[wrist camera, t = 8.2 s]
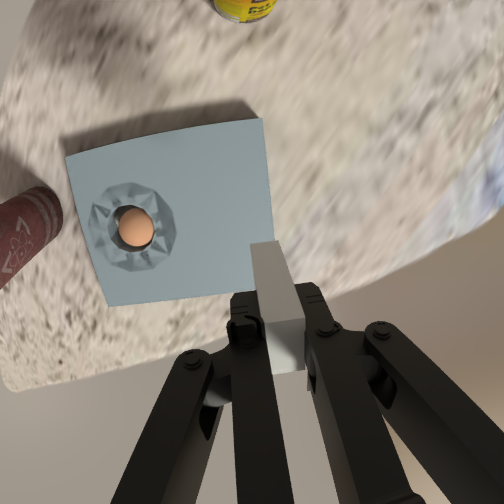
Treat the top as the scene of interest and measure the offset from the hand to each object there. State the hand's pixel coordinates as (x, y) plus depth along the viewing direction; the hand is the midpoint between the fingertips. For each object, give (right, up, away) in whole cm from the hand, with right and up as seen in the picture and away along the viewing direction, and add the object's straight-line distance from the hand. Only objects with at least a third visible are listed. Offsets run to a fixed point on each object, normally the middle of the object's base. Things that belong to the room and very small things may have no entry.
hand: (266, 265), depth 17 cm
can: (-23, +5, +11) cm, 26 cm away
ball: (-11, +3, +11) cm, 16 cm away
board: (-8, +4, +13) cm, 16 cm away
